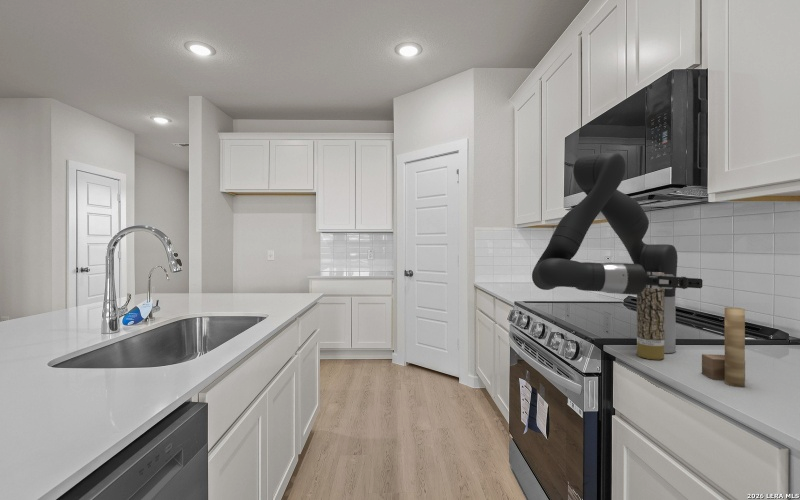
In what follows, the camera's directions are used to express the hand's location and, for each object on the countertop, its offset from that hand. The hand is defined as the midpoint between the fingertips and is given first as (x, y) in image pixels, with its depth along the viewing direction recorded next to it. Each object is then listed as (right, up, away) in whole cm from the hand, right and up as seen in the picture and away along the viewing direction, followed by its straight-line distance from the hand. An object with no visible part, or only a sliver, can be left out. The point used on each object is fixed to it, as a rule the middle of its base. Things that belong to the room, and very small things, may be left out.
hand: (689, 282), depth 92 cm
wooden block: (+11, -24, +4) cm, 27 cm away
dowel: (+10, -24, -1) cm, 26 cm away
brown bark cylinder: (+5, -24, +21) cm, 32 cm away
